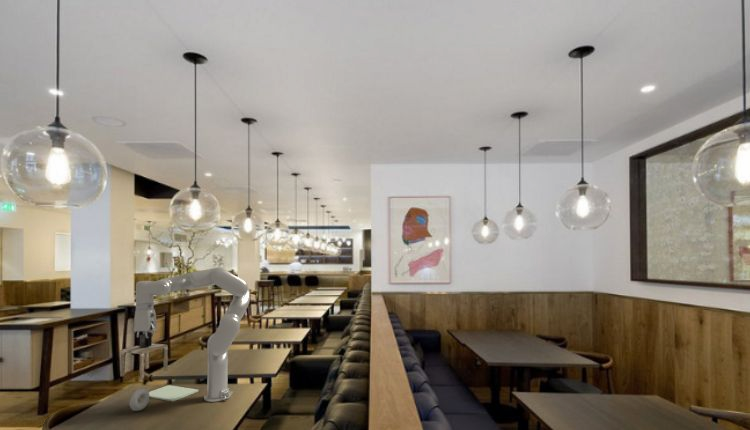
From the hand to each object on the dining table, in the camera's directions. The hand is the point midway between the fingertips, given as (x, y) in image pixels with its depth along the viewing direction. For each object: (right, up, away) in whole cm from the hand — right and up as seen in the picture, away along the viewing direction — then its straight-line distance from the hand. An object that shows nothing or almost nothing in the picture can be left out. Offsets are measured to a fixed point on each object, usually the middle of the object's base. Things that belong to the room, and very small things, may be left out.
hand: (144, 345), depth 202 cm
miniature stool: (0, -13, -1) cm, 13 cm away
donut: (0, -29, -5) cm, 29 cm away
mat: (+4, -30, +18) cm, 35 cm away
